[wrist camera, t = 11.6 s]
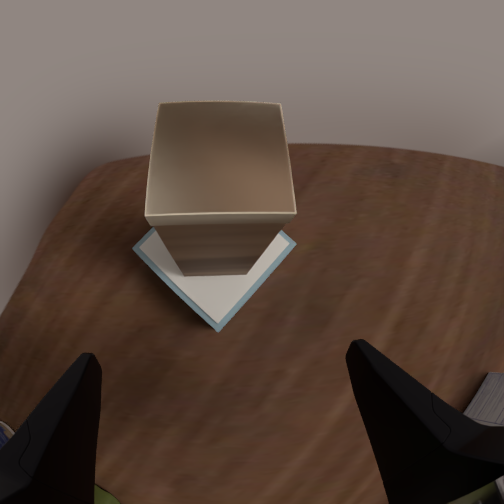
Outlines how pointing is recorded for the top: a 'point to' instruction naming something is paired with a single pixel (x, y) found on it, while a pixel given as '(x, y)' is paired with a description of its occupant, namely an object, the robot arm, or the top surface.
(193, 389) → the top surface
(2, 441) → the pill bottle
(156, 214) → the beige block
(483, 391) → the medicine box
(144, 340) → the top surface
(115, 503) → the plant pot
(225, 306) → the stand
